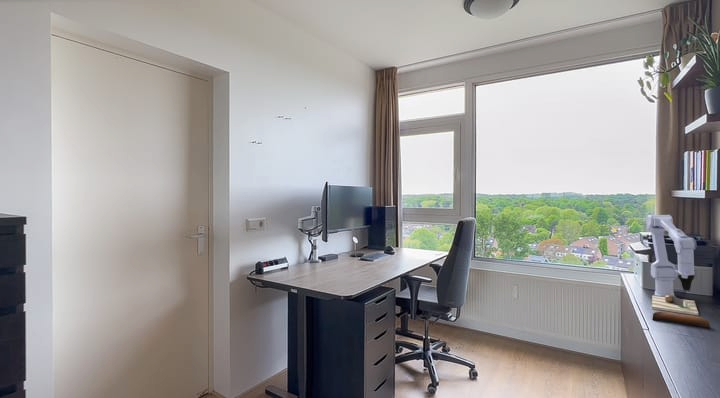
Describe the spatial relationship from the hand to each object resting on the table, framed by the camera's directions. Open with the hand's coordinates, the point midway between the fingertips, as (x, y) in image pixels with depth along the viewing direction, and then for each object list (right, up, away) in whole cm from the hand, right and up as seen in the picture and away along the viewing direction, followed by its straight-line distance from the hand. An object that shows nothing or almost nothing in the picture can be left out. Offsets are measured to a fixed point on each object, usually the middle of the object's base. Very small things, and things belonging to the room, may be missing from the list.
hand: (686, 290), depth 165 cm
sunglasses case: (-20, -10, -17) cm, 28 cm away
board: (-4, -9, +2) cm, 10 cm away
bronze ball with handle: (-4, -7, +1) cm, 8 cm away
